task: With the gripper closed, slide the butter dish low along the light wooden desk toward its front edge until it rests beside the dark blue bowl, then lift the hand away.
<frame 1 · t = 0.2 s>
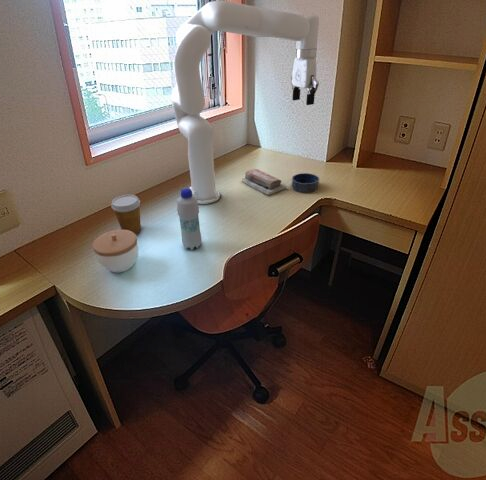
hand: (302, 102, 142), 31 cm above the table, tool pointing down, fingers open, 9 cm apart
dark blue bowl: (304, 187, 148), on the table
lidded bowl: (121, 266, 109), on the table
disposable coffee cup: (131, 231, 126), on the table
bottle: (192, 246, 116), on the table
butter dish: (263, 186, 151), on the table
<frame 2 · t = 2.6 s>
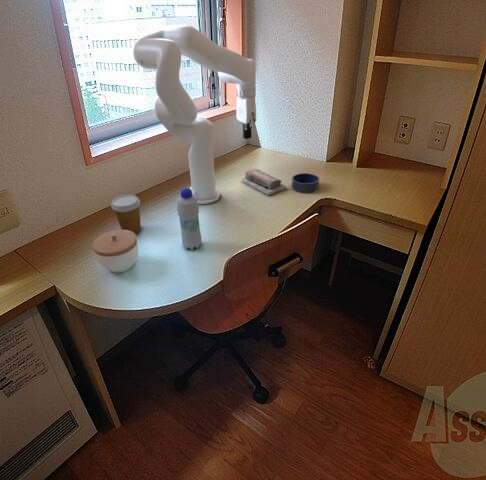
hand: (247, 137, 154), 16 cm above the table, tool pointing down, fingers closed
nothing on the table moved.
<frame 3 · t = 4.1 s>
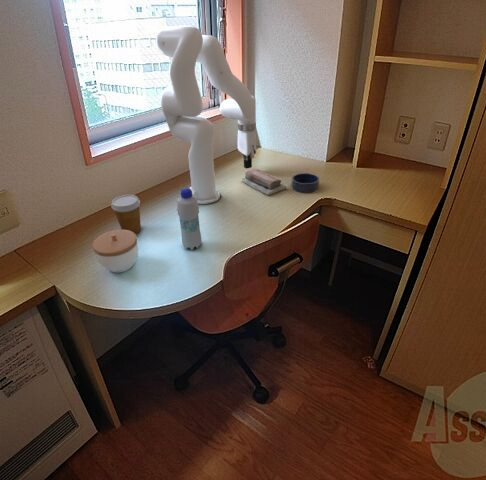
hand: (247, 167, 162), 3 cm above the table, tool pointing down, fingers closed
nothing on the table moved.
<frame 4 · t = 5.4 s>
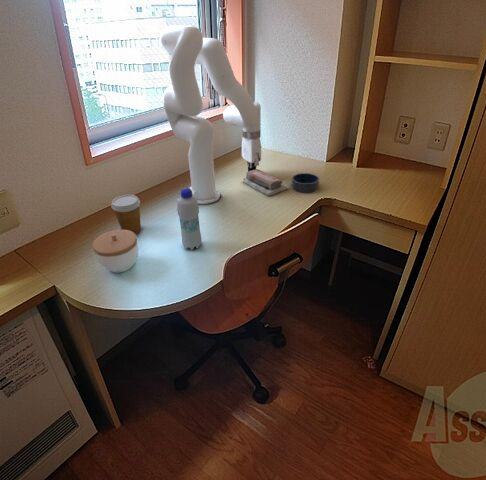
hand: (252, 174, 159), 1 cm above the table, tool pointing down, fingers closed
butter dish: (264, 186, 151), on the table, touching gripper
everything else where it was.
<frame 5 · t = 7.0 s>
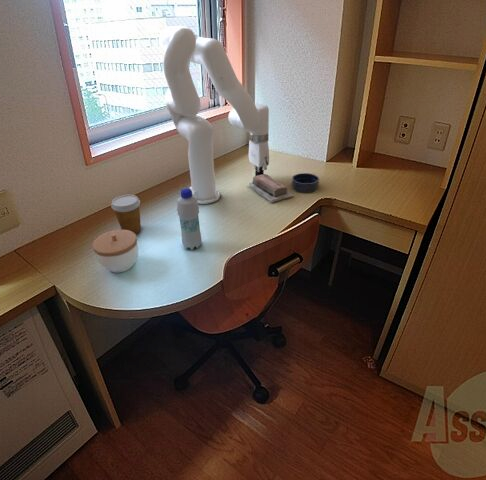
hand: (259, 179, 154), 1 cm above the table, tool pointing down, fingers closed
butter dish: (270, 192, 146), on the table, touching gripper
everything else where it was.
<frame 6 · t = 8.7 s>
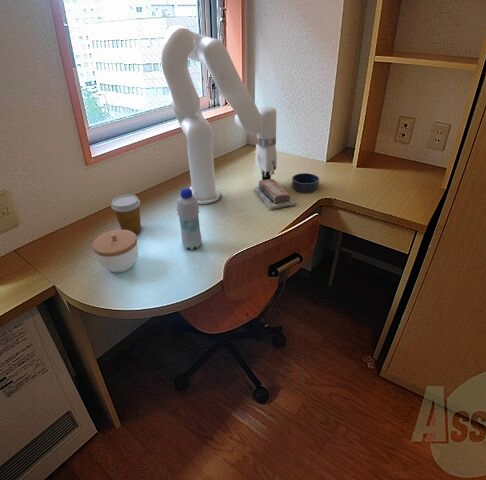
hand: (266, 183, 150), 1 cm above the table, tool pointing down, fingers closed
butter dish: (273, 198, 141), on the table, touching gripper
everything else where it was.
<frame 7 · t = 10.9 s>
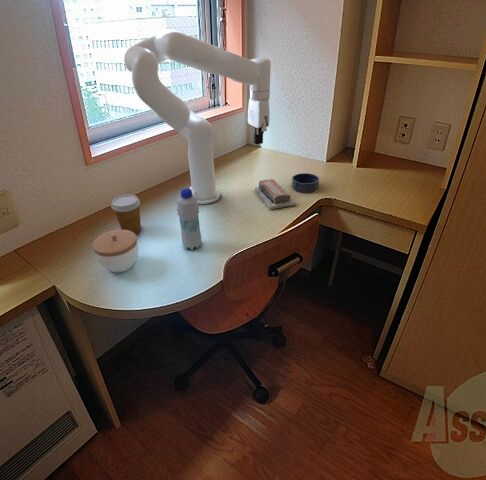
hand: (258, 143, 144), 18 cm above the table, tool pointing down, fingers closed
butter dish: (273, 198, 141), on the table
everything else where it was.
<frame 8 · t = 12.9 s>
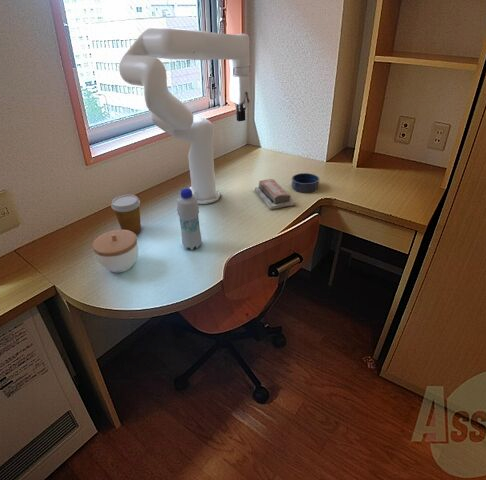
hand: (241, 120, 146), 25 cm above the table, tool pointing down, fingers closed
nothing on the table moved.
at the end: butter dish inside the target area (1.5 cm from its centre), on the table; butter dish 16.2 cm from the dark blue bowl (horizontally); butter dish tilted 0° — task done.
